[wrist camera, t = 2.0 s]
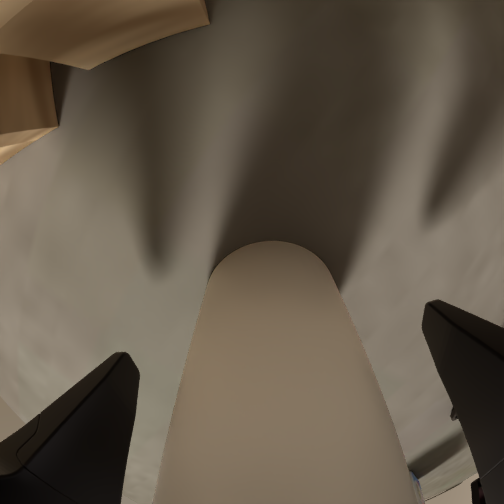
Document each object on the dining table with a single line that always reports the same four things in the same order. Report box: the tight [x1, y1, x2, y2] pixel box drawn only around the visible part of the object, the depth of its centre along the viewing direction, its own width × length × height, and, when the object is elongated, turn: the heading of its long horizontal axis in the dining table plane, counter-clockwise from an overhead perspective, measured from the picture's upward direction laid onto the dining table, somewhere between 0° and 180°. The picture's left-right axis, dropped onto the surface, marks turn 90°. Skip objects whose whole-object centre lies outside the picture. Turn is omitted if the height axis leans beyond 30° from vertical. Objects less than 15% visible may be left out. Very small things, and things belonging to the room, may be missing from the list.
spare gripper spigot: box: [152, 241, 418, 504], centre depth 6 cm, size 4×4×8 cm
